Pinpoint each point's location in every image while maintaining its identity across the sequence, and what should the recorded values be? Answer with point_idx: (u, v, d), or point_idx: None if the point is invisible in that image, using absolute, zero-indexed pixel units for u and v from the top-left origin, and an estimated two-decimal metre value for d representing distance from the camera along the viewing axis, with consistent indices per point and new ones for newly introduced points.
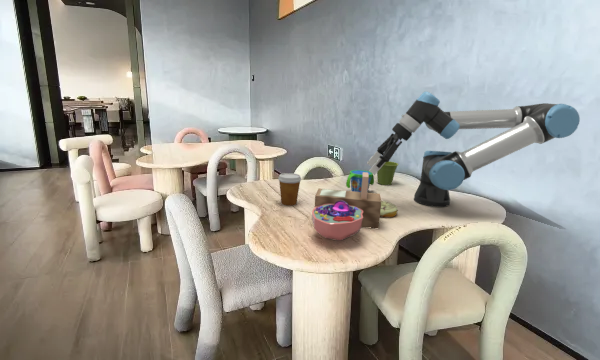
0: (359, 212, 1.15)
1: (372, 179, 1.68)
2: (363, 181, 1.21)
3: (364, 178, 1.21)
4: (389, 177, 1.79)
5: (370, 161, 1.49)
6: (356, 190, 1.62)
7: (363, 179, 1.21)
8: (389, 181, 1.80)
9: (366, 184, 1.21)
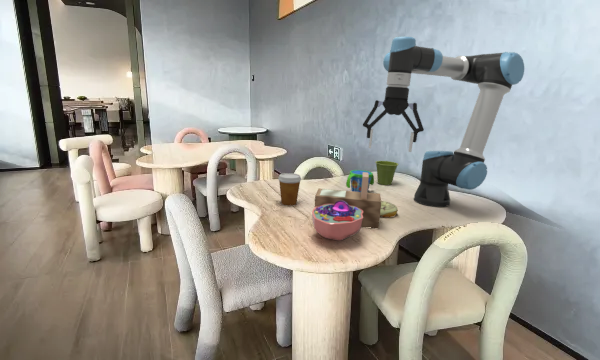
0: (359, 212, 1.15)
1: (372, 179, 1.68)
2: (363, 181, 1.21)
3: (364, 178, 1.21)
4: (389, 177, 1.79)
5: (371, 143, 1.22)
6: (356, 190, 1.62)
7: (363, 179, 1.21)
8: (389, 181, 1.80)
9: (366, 184, 1.21)
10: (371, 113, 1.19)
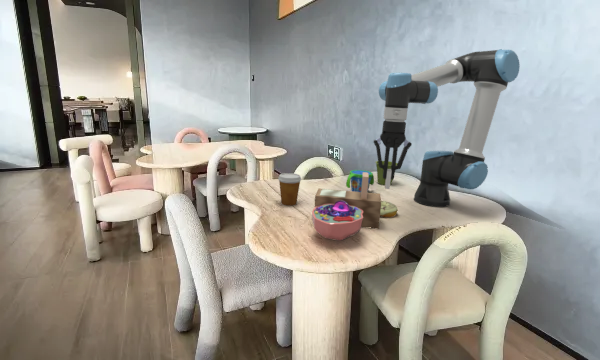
0: (359, 212, 1.15)
1: (372, 179, 1.68)
2: (363, 181, 1.21)
3: (364, 178, 1.21)
4: None
5: None
6: (356, 190, 1.62)
7: (363, 179, 1.21)
8: None
9: (366, 184, 1.21)
10: (378, 153, 1.20)
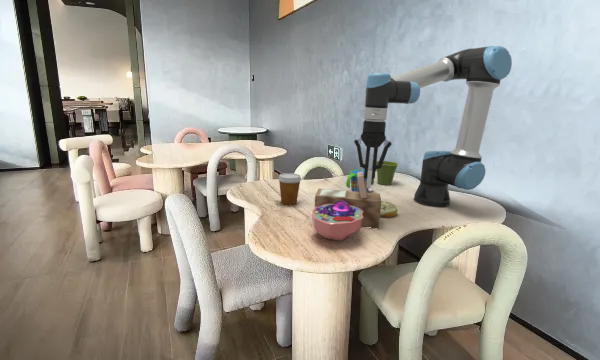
0: (359, 212, 1.15)
1: (372, 179, 1.68)
2: (359, 181, 1.21)
3: (359, 178, 1.21)
4: (389, 177, 1.79)
5: None
6: (356, 190, 1.62)
7: (358, 179, 1.21)
8: (389, 181, 1.80)
9: (362, 183, 1.21)
10: (359, 153, 1.21)
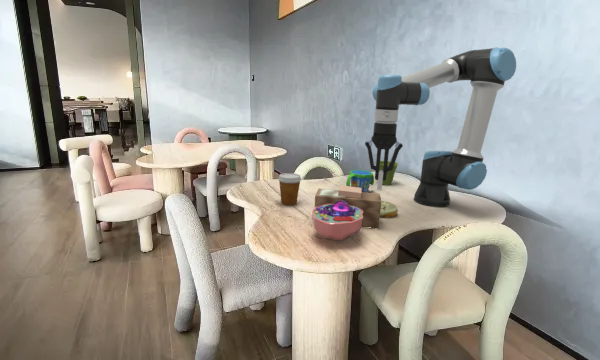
0: (359, 212, 1.15)
1: (372, 179, 1.68)
2: (342, 195, 1.24)
3: (339, 194, 1.24)
4: (389, 177, 1.79)
5: None
6: None
7: (340, 195, 1.24)
8: (389, 181, 1.80)
9: (346, 192, 1.23)
10: (370, 155, 1.21)
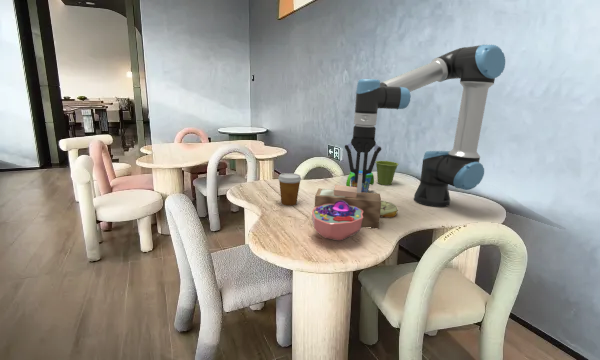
0: (359, 212, 1.15)
1: (372, 179, 1.68)
2: (338, 194, 1.24)
3: (335, 193, 1.24)
4: (389, 177, 1.79)
5: None
6: None
7: (336, 194, 1.24)
8: (389, 181, 1.80)
9: (341, 192, 1.23)
10: (349, 158, 1.22)
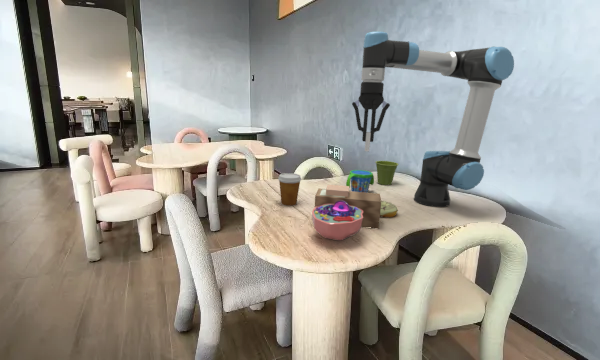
0: (359, 212, 1.15)
1: (372, 179, 1.68)
2: (330, 194, 1.24)
3: (327, 193, 1.24)
4: (389, 177, 1.79)
5: None
6: (356, 190, 1.62)
7: (328, 194, 1.24)
8: (389, 181, 1.80)
9: (333, 191, 1.24)
10: (357, 115, 1.20)
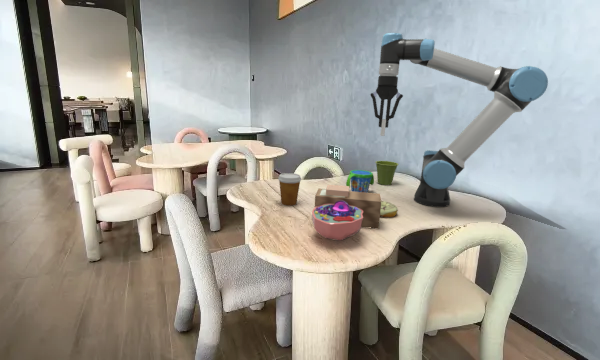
0: (359, 212, 1.15)
1: (372, 179, 1.68)
2: (330, 194, 1.24)
3: (327, 193, 1.24)
4: (389, 177, 1.79)
5: None
6: (356, 190, 1.62)
7: (328, 194, 1.24)
8: (389, 181, 1.80)
9: (333, 191, 1.24)
10: (374, 104, 1.40)
